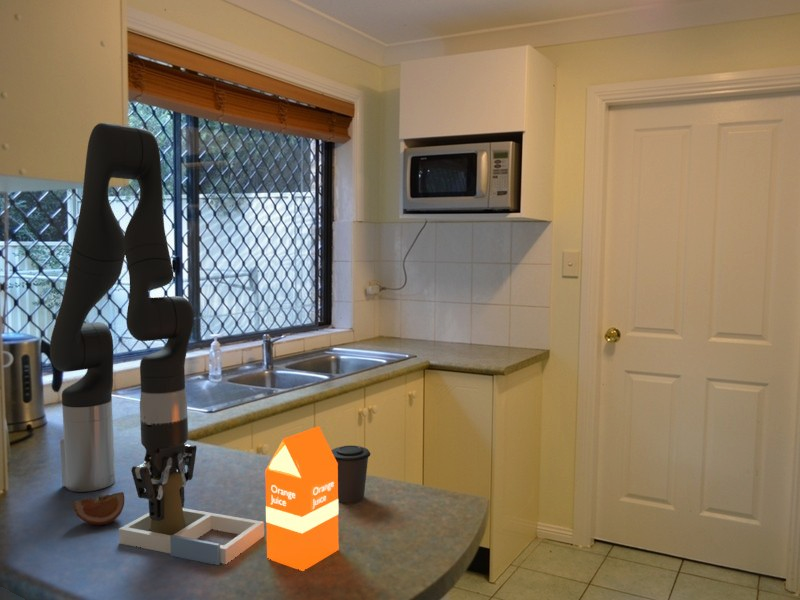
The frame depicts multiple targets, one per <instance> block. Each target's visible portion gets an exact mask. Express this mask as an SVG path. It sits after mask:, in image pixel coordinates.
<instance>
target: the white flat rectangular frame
mask: <svg viewBox="0 0 800 600" xmlns="http://www.w3.org/2000/svg"><path fill="white" fill-rule="evenodd" d="M182 509H183V514H184V520H185V526H186V527H185V528H184V529H182V530H180V531H179V532H177V533H175V534H174V535H172V536H171V535H166V534H160V533H155V532H150V530H149V529H150V528H151V518H150V516H149V512H147V513H145V514H143V515H142V516H140V517H138V518H137V519H135V520H132V521H131V522H130V521H129V523H127V524H125V525H123V526H122V527H119V528H118V543H119V544H120V545H126V546H131V547H136V546H137V547H136V548H140V547H141V549H145V550H151V551H156V552H161V553H165V554H170V556H171V557H174V558H175V557H176V558H181V559H186V560H189V561H190V560H191V561H195V562H199V563H200V562H201V563H205V564H209V565H214V564H215V565H214V566H219V565H225V564H226V565H227V563H228V562H229V563H230V562H231V560H232V561H233V560H234V559H235V557H236V558H237V557H239V555H241V554H242V553H244V552H245V551H247V549H249V548H250V547H252V546H253V545H254V544H256V543H257V542H258V541H260V540H261V539H262V538H263V537H265V521H261V520H255V519H250V518H244V517H239V516H238V517H237V516H232V515H226V514H221V513H214V512H207V511H202V510H197V509H196V510H195V509H190V508H186V507H183V508H182ZM212 529H213V531H217V530H218V532H224V533H229V534H234V535H236V537H234V538H233V539H231V540H229V541H228V542H227V543H226V544H220V543H218V542H212V541H208V540H201V539H199V538H201V537H202V536H203V535H204V536H205V534H207V533H208V532H210V531H211V530H212ZM200 536H201V537H200ZM240 553H241V554H240ZM220 563H222V564H220ZM229 563H228V564H229Z"/></svg>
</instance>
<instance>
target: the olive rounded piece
mask: <svg viewBox="0 0 800 600" xmlns="http://www.w3.org/2000/svg"><path fill="white" fill-rule="evenodd" d="M154 479H158V480H160V479H161V477H157V476H154ZM182 483H183V479H182V476H181V474H180V473H179V472H173V473H171V474H169V476H168V482H167V484H166V485H164V486H163V496H162V498H163V507H164V518H163V519H162V520H161V521H156V520H152V519H151V528H150V530H149V531H150V532H155V533H160V534H166V535H171V536H172V535H174V534H175V533H177V532H179V531H180V530H182V529H184V528H185V527H187V525H185V520H184V514H183V509H182V503H181V497H180V491H179V490H180V489H181V487H182ZM153 488H154V491H156V490H157V485H156V484H153Z"/></svg>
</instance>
